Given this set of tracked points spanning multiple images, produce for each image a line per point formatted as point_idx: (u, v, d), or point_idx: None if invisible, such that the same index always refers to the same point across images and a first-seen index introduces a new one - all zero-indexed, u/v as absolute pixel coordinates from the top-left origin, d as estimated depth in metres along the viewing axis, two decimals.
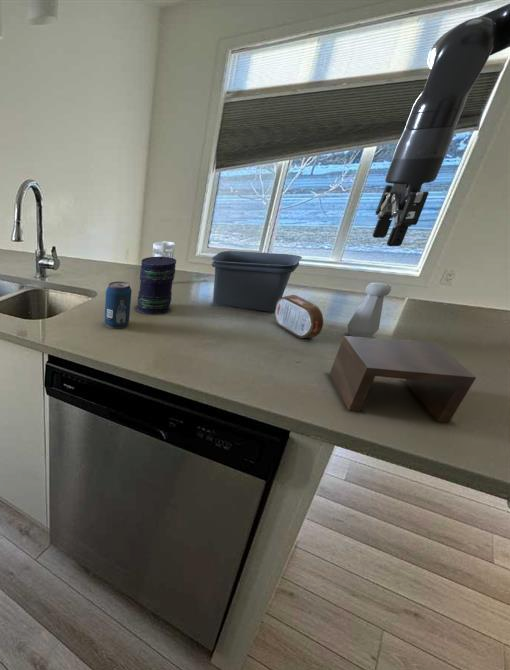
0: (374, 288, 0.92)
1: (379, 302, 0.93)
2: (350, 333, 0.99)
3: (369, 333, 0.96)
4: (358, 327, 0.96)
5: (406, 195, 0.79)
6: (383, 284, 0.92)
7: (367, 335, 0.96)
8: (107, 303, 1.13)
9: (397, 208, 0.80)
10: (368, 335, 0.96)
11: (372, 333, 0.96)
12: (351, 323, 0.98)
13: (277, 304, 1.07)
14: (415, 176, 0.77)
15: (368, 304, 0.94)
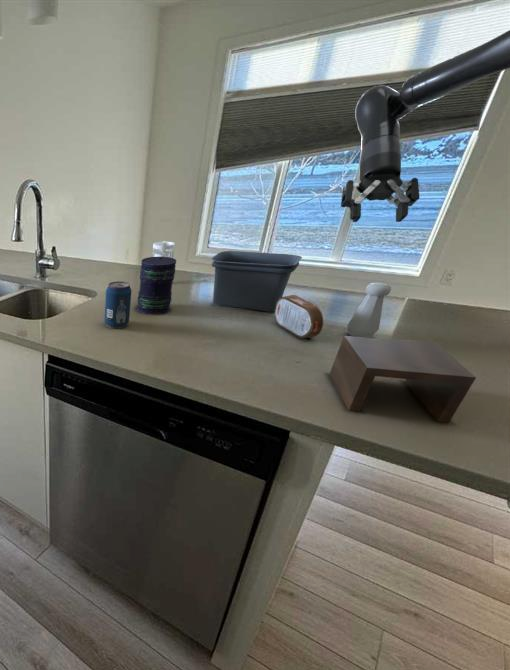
0: (374, 288, 0.92)
1: (379, 302, 0.93)
2: (350, 333, 0.99)
3: (369, 333, 0.96)
4: (358, 327, 0.96)
5: None
6: (383, 284, 0.92)
7: (367, 335, 0.96)
8: (107, 303, 1.13)
9: None
10: (368, 335, 0.96)
11: (372, 333, 0.96)
12: (351, 323, 0.98)
13: (277, 304, 1.07)
14: (359, 176, 1.01)
15: (368, 304, 0.94)
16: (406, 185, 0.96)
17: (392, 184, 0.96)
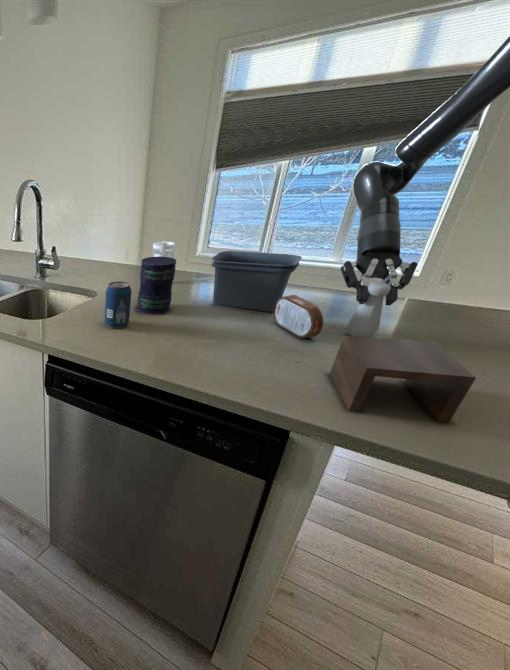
0: (374, 288, 0.92)
1: (379, 302, 0.93)
2: (350, 333, 0.99)
3: (369, 333, 0.96)
4: (358, 327, 0.96)
5: None
6: (383, 284, 0.92)
7: (367, 335, 0.96)
8: (107, 303, 1.13)
9: None
10: (368, 335, 0.96)
11: (372, 333, 0.96)
12: (351, 323, 0.98)
13: (277, 304, 1.07)
14: (357, 252, 0.98)
15: (368, 304, 0.94)
16: (404, 267, 0.93)
17: (391, 264, 0.92)
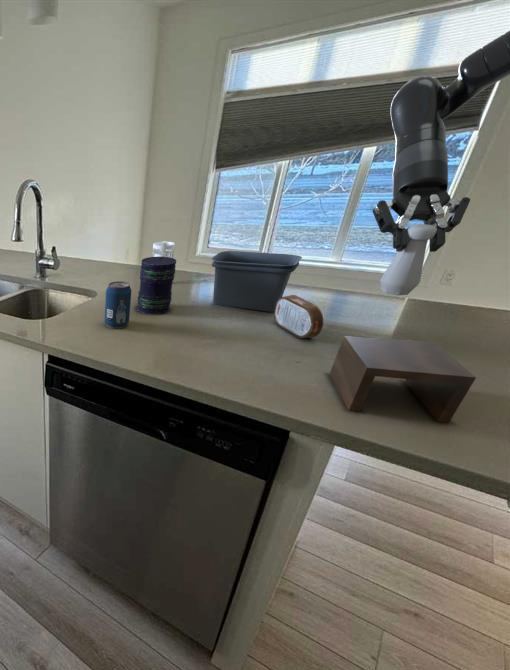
0: (415, 230, 0.75)
1: (421, 248, 0.76)
2: (384, 289, 0.82)
3: (408, 287, 0.79)
4: (394, 280, 0.80)
5: None
6: (427, 225, 0.75)
7: (405, 290, 0.80)
8: (107, 303, 1.13)
9: None
10: (407, 290, 0.80)
11: (412, 287, 0.79)
12: (385, 276, 0.81)
13: (277, 304, 1.07)
14: (393, 190, 0.81)
15: (407, 252, 0.77)
16: (453, 204, 0.76)
17: (436, 200, 0.76)
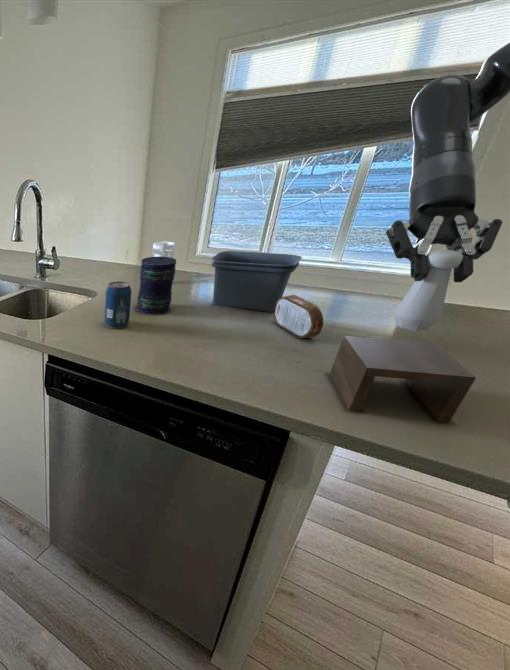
0: (438, 257, 0.64)
1: (444, 278, 0.65)
2: (398, 323, 0.71)
3: (428, 322, 0.68)
4: (411, 314, 0.69)
5: None
6: (451, 251, 0.64)
7: (424, 325, 0.69)
8: (107, 303, 1.13)
9: None
10: (426, 325, 0.69)
11: (432, 322, 0.68)
12: (401, 309, 0.70)
13: (277, 304, 1.07)
14: (410, 208, 0.70)
15: (428, 281, 0.66)
16: (481, 227, 0.65)
17: (462, 222, 0.64)
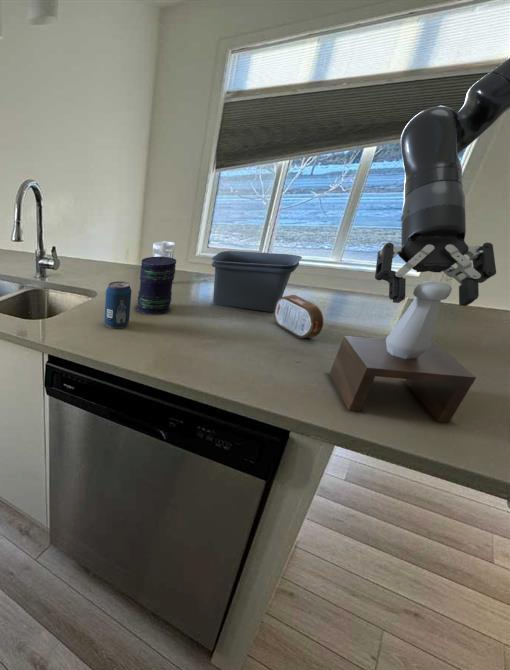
0: (427, 289, 0.66)
1: (434, 309, 0.67)
2: (390, 350, 0.73)
3: (418, 351, 0.70)
4: (402, 343, 0.70)
5: None
6: (440, 283, 0.66)
7: (415, 354, 0.70)
8: (107, 303, 1.13)
9: None
10: (416, 354, 0.70)
11: (422, 351, 0.70)
12: (392, 337, 0.72)
13: (277, 304, 1.07)
14: (402, 236, 0.71)
15: (418, 312, 0.68)
16: (474, 253, 0.66)
17: (453, 251, 0.66)
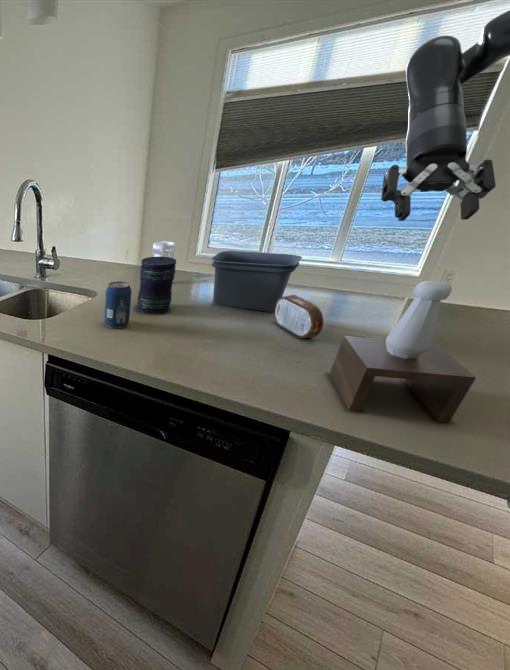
0: (427, 289, 0.66)
1: (434, 309, 0.67)
2: (390, 350, 0.73)
3: (418, 351, 0.70)
4: (402, 343, 0.70)
5: None
6: (440, 283, 0.66)
7: (415, 354, 0.70)
8: (107, 303, 1.13)
9: None
10: (416, 354, 0.70)
11: (422, 351, 0.70)
12: (392, 337, 0.72)
13: (277, 304, 1.07)
14: (407, 160, 0.75)
15: (418, 312, 0.68)
16: (475, 170, 0.70)
17: (455, 168, 0.70)
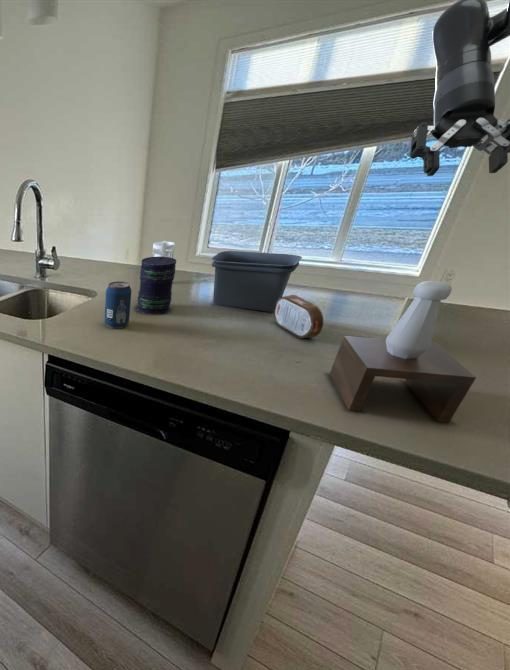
0: (427, 289, 0.66)
1: (434, 309, 0.67)
2: (390, 350, 0.73)
3: (418, 351, 0.70)
4: (402, 343, 0.70)
5: None
6: (440, 283, 0.66)
7: (415, 354, 0.70)
8: (107, 303, 1.13)
9: None
10: (416, 354, 0.70)
11: (422, 351, 0.70)
12: (392, 337, 0.72)
13: (277, 304, 1.07)
14: (435, 118, 0.77)
15: (418, 312, 0.68)
16: (503, 125, 0.72)
17: (483, 123, 0.72)
